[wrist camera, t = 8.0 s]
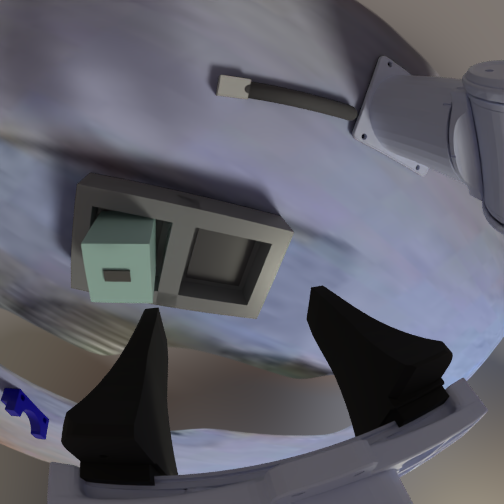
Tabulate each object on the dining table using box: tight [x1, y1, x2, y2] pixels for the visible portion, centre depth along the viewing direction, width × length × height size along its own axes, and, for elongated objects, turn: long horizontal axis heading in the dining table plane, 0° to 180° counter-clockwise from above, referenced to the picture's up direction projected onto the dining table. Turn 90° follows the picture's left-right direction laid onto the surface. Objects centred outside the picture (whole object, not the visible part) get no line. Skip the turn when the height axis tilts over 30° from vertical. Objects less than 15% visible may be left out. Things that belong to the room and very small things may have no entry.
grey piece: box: [71, 173, 294, 319], centre depth 21 cm, size 15×8×3 cm, turn 70°
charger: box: [81, 211, 157, 303], centre depth 18 cm, size 4×4×5 cm
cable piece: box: [216, 75, 357, 120], centre depth 18 cm, size 11×1×1 cm, turn 80°
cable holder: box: [1, 388, 49, 439], centre depth 27 cm, size 8×4×4 cm, turn 3°
